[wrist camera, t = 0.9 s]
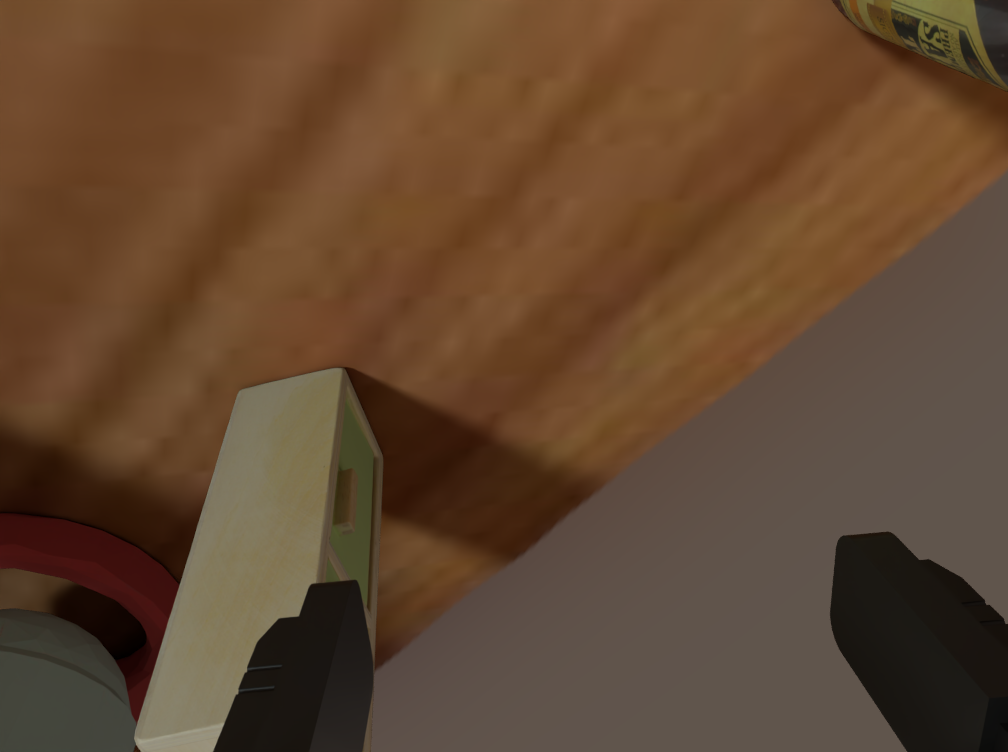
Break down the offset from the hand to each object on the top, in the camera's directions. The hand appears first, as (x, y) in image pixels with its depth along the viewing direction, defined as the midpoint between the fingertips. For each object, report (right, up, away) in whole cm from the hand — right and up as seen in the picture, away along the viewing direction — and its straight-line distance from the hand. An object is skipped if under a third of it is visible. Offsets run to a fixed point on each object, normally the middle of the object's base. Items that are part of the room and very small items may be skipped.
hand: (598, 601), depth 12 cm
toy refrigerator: (-13, +1, +33) cm, 36 cm away
